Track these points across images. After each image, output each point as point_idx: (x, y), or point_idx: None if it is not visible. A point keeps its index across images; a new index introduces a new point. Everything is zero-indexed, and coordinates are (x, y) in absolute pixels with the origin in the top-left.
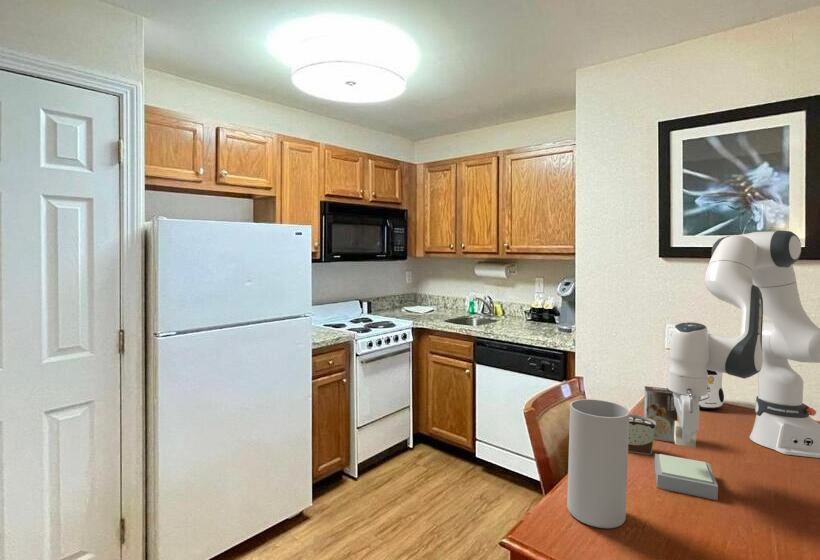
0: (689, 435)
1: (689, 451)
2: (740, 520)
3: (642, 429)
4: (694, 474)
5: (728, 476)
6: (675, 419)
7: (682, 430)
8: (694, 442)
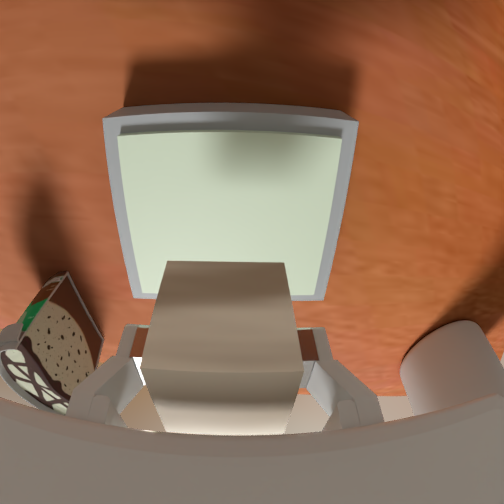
0: (331, 361)
1: None
2: (442, 86)
3: (49, 354)
4: (294, 196)
5: (91, 41)
6: None
7: (324, 406)
8: (288, 293)
